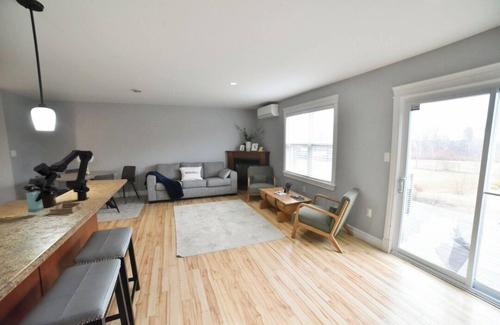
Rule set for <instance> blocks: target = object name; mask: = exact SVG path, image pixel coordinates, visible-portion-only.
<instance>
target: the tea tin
mask: <svg viewBox="0 0 500 325" xmlns="http://www.w3.org/2000/svg"><path fill="white" fill-rule="evenodd" d="M39 194H40V191H34V192H25V196H26V201H27V212H28V213H38V212H41V211H44V209H45V208H43V204H42V199H41V200H40V201H38V202H35V200H36V198H37V197H38V195H39Z"/></svg>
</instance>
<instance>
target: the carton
mask: <svg viewBox="0 0 500 325" xmlns="http://www.w3.org/2000/svg"><path fill="white" fill-rule="evenodd" d="M83 208H85V205H84V203H83V202H71V203H70V202H67V203H66V202H65V203H60V204H59V205H56V206H55V207H51V208H50V209H49V215H48V216H47V217H63V216H70V215H73V214H74V213H76V212H78V211H79V210H81V209H83Z"/></svg>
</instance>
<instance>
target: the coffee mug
mask: <svg viewBox="0 0 500 325" xmlns="http://www.w3.org/2000/svg"><path fill="white" fill-rule="evenodd" d="M42 204H43V209H49V208H50V209H52V208H54V206H55V207H56V206H57V194H53V193H52V192H51V195H49V196H47V197H45V198H43V199H42Z"/></svg>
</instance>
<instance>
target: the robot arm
mask: <svg viewBox="0 0 500 325" xmlns="http://www.w3.org/2000/svg"><path fill="white" fill-rule="evenodd" d="M93 155H94V152H92V150H80V149H73V150H72V151H71V152H69V153H68V154H67V155H66V156H65V157H64V158H62V159H61V160H59V161H57V162H54V163H52V164H50V166H49V165H47V163H46V162H41V163H40V164H37V165H36V166H34V167H33V169H32V170H33V171H34V172H35V173H37V174H38V175H40V177H39V178H29V181H28V185H25V186H23V190H24V191H26V192H27V193H30V192H34V191H38V192H40V194H39V195H38V197H37V198H36V200H35V202H38V201H40V200H41V199H43V198H45V197H47V196H49V195H51V192H52V193H53V194H56V195H58V193H59V192H60V191H59V188H57V187H56V186H54V185H55V181H56V180H57V179H61V178H62V176H61V174H60V173H65V171H66V170H67V168H68V165H69V164H71V163H72V162H73V161H75V159H76V158H79V160H80V163H79V167H78V171H77V175H76V179H75V180H72V181H71V182H72V183H71V185H70V186H71V189H72V191H73V193H76V195H77V196H76V197H77V198H76V199H75V202H76V201H79V202H80V201H86V200H88V199H89V198H90V197H88V195H87V194H88V193H89V192H90V188H89V186H87V181H86V176H87V170H88V166H89V162H90V161H91V160H92V159H93V157H94V156H93ZM33 185H34V186H33Z"/></svg>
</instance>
